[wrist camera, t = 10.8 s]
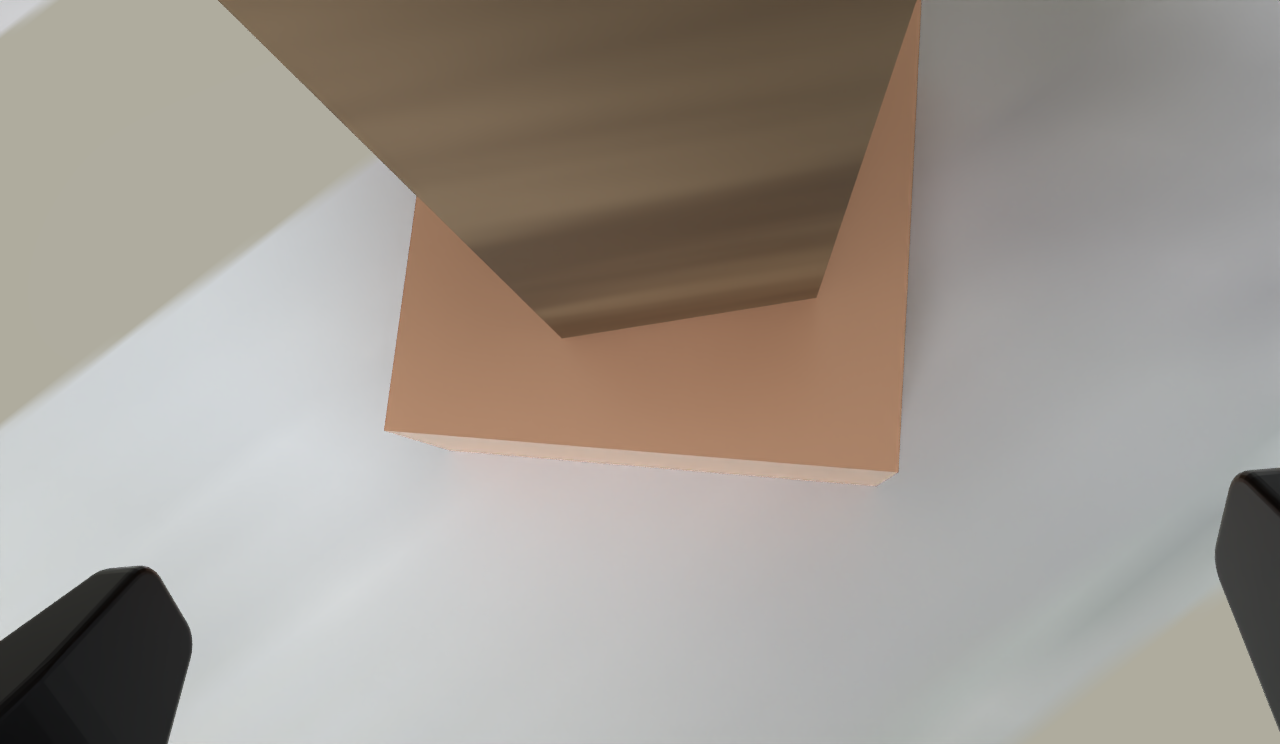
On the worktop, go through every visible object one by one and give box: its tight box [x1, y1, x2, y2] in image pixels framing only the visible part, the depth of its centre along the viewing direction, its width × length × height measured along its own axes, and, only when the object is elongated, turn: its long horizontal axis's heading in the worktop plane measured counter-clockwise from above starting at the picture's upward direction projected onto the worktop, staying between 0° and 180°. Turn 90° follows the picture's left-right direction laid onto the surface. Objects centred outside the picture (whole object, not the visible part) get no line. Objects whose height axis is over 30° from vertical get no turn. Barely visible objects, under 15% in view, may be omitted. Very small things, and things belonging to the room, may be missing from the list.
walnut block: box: [218, 0, 917, 338], centre depth 11 cm, size 4×4×13 cm
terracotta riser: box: [384, 0, 921, 486], centre depth 19 cm, size 9×9×4 cm
